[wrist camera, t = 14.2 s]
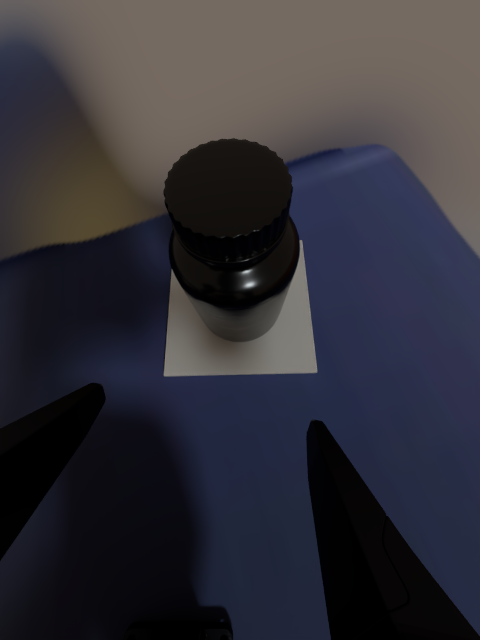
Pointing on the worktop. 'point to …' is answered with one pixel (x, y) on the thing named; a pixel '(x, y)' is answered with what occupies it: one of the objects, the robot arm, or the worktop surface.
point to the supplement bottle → (232, 235)
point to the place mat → (241, 357)
